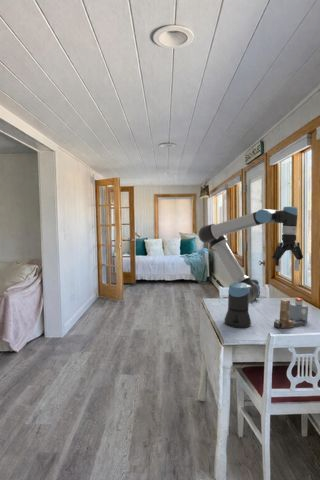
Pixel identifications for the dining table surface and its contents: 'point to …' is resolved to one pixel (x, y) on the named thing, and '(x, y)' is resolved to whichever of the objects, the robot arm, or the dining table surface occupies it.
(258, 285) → the camera
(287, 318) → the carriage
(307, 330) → the dining table surface
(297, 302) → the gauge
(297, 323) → the rail
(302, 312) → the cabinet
